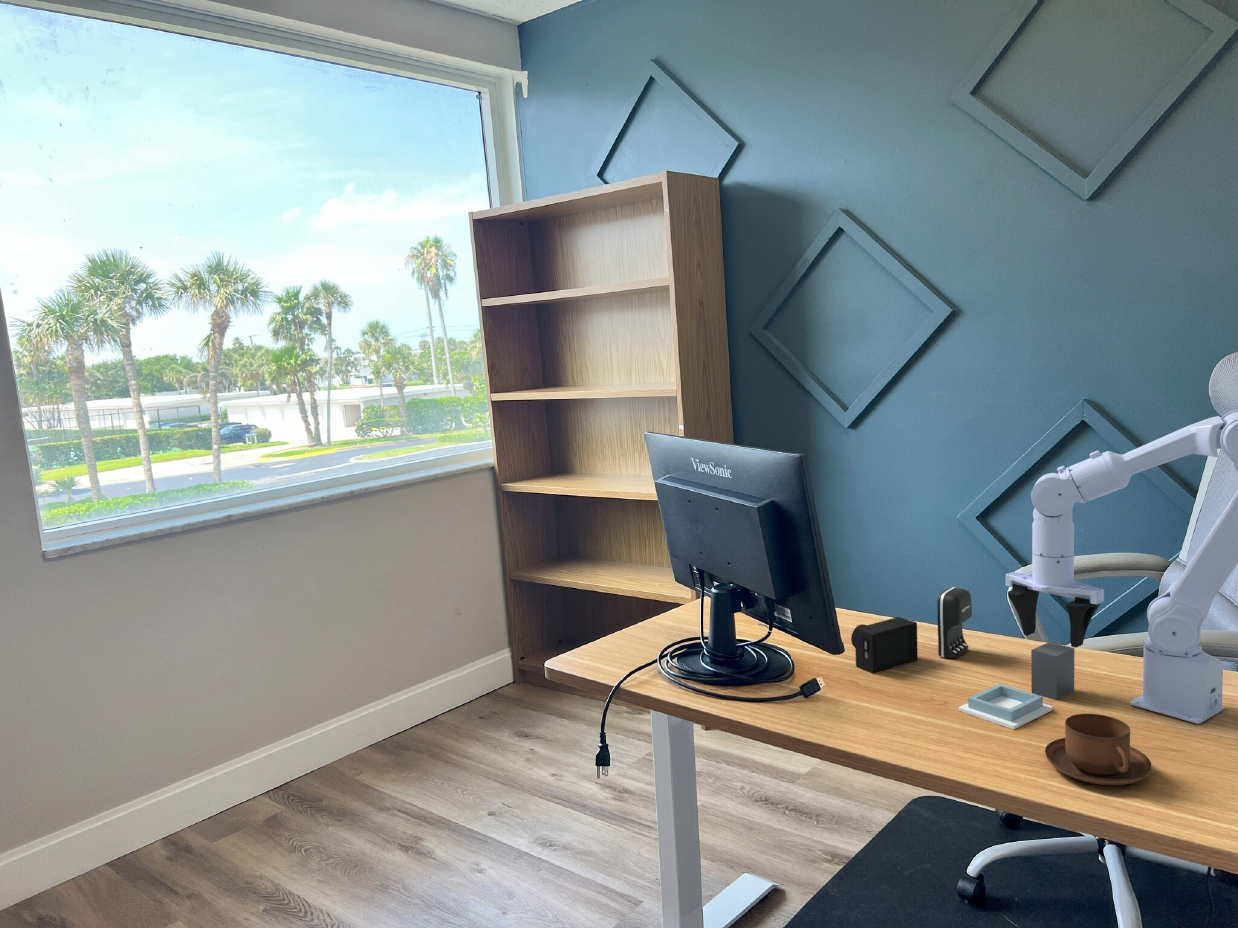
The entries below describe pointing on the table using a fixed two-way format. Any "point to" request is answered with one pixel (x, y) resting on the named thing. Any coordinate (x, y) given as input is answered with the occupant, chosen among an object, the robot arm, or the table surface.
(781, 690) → the table surface
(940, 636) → the battery charger
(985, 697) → the socket dock
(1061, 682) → the plug
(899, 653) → the digital camera
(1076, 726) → the cup and saucer
